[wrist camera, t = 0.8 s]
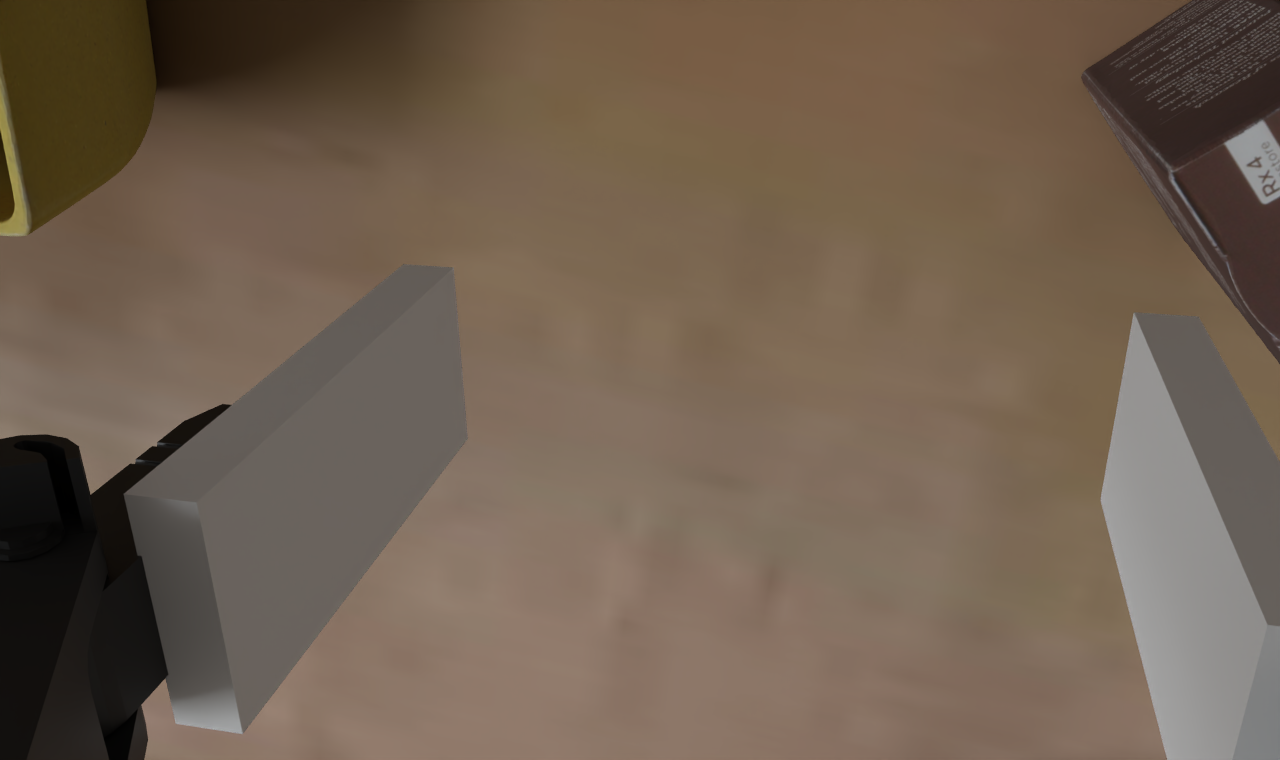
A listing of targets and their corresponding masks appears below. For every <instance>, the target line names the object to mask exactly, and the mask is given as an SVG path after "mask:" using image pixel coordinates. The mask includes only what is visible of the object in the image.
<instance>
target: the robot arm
mask: <svg viewBox="0 0 1280 760" xmlns="http://www.w3.org/2000/svg"><path fill="white" fill-rule="evenodd" d="M467 439H468V435H467V423H466V411H465V399H464V387H463V375H462V363H461V351H460V339H459V327H458V315H457V303H456V291H455V279H454V268H452V267H437V266H421V265H406V264H403V265H402V266H401V267H400V268H398V269H397V270H396V271H395V272H394V273H392V274H391V275H390V276H389V277H387V278H386V279H385V280H384V281H383V282H381V283H380V284H379V285H378V286H376V287H375V288H374V289H373V290H372V291H370V292H369V293H368V294H367V295H366V296H364V297H363V298H362V299H361V300H359V301H358V302H357V303H356V304H355V305H353V306H352V307H351V308H350V309H348V310H347V311H346V312H345V313H344V314H342V315H341V316H340V317H339V318H337V319H336V320H335V321H334V322H333V323H331V324H330V325H329V326H328V327H327V328H325V329H324V330H323V331H322V332H320V333H319V334H318V335H317V336H316V337H314V338H313V339H312V340H311V341H309V342H308V343H307V344H306V345H305V346H303V347H302V348H301V349H300V350H298V351H297V352H296V353H295V354H294V355H292V356H291V357H290V358H289V359H288V360H286V361H285V362H284V363H283V364H281V365H280V366H279V367H278V368H277V369H275V370H274V371H273V372H272V373H270V374H269V375H268V376H267V377H266V378H264V379H263V380H262V381H261V382H259V383H258V384H257V385H256V386H255V387H253V388H252V389H251V390H250V391H249V392H247V393H246V394H245V395H244V396H242V397H241V398H240V399H239V400H238V401H236V402H235V403H234V404H233V405H226V404H222V405H219V406H217V407H215V408H213V409H210V410H208V411H206V412H204V413H201V414H199V415H197V416H195V417H192V418H190V419H188V420H186V421H184V422H182V423H181V424H180V425H179V426H177V427H176V428H175V429H174V430H172V431H171V432H170V433H168V434H167V435H166V436H165V437H163V438H162V439H161V440H160V441H158V442H157V447H154V446H152V447H151V448H149V449H148V450H147V451H146V452H144V453H143V454H142V455H141V456H139V457H138V458H137V459H136V463H135V464H129V465H128V466H127V467H125V468H124V469H123V470H122V471H120V472H119V473H118V474H117V475H115V476H114V477H113V478H111V479H110V480H109V481H108V482H106V483H105V484H104V485H103V486H101V487H100V488H99V489H98V490H96V491H95V492H94V493H92V494H91V495H90V491H89V487H88V483H87V479H86V475H85V470H84V466H83V462H82V458H81V454H80V450H79V446H77V445H76V444H75V443H73V442H72V441H70V440H69V439H67V438H62V437H57V436H52V435H20V436H14V437H9V438H4V439H0V760H144V758H145V753H146V747H147V742H148V736H147V729H146V723H145V719H144V715H143V710H142V706H141V704H142V703H143V702H144V701H145V700H146V699H147V698H148V697H149V696H150V694H151V693H152V692H153V691H154V690H155V689H156V688H157V687H158V686H159V684H160V683H161V682H162V681H163V680H164V679H165V678H166V683H167V687H168V691H169V696H170V700H171V704H172V709H173V713H174V718H175V722H176V724H182V725H188V726H195V727H201V728H207V729H214V730H220V731H226V732H233V733H239V734H243V733H244V732H245V730H246V729H247V728H248V726H249V725H250V724H251V722H252V721H253V720H254V718H255V717H256V716H257V715H258V713H259V712H260V711H261V709H262V708H263V707H264V705H265V704H266V703H267V701H268V700H269V699H270V697H271V696H272V695H273V694H274V692H275V691H276V690H277V688H278V687H279V686H280V684H281V683H282V682H283V680H284V679H285V678H286V676H287V675H288V674H289V673H290V671H291V670H292V669H293V667H294V666H295V665H296V663H297V662H298V661H299V659H300V658H301V657H302V655H303V654H304V653H305V652H306V650H307V649H308V648H309V646H310V645H311V644H312V642H313V641H314V640H315V638H316V637H317V636H318V634H319V633H320V632H321V631H322V629H323V628H324V627H325V625H326V624H327V623H328V621H329V620H330V619H331V617H332V616H333V615H334V613H335V612H336V611H337V610H338V608H339V607H340V606H341V604H342V603H343V602H344V600H345V599H346V598H347V596H348V595H349V594H350V592H351V591H352V590H353V589H354V587H355V586H356V585H357V583H358V582H359V581H360V579H361V578H362V577H363V575H364V574H365V573H366V571H367V570H368V569H369V568H370V566H371V565H372V564H373V562H374V561H375V560H376V558H377V557H378V556H379V554H380V553H381V552H382V550H383V549H384V548H385V547H386V545H387V544H388V543H389V541H390V540H391V539H392V537H393V536H394V535H395V533H396V532H397V531H398V529H399V528H400V527H401V526H402V524H403V523H404V522H405V520H406V519H407V518H408V516H409V515H410V514H411V512H412V511H413V510H414V508H415V507H416V506H417V505H418V503H419V502H420V501H421V499H422V498H423V497H424V495H425V494H426V493H427V491H428V490H429V489H430V487H431V486H432V485H433V484H434V482H435V481H436V480H437V478H438V477H439V476H440V474H441V473H442V472H443V470H444V469H445V468H446V466H447V465H448V464H449V462H450V461H451V460H452V459H453V457H454V456H455V455H456V453H457V452H458V451H459V449H460V448H461V447H462V445H463V444H464V443H465V441H466V440H467ZM1101 504H1102V508H1103V512H1104V515H1105V519H1106V523H1107V527H1108V531H1109V535H1110V539H1111V543H1112V546H1113V550H1114V554H1115V558H1116V562H1117V566H1118V570H1119V574H1120V578H1121V581H1122V585H1123V589H1124V593H1125V597H1126V601H1127V605H1128V609H1129V613H1130V616H1131V620H1132V624H1133V628H1134V632H1135V636H1136V640H1137V644H1138V648H1139V651H1140V655H1141V659H1142V663H1143V667H1144V671H1145V675H1146V679H1147V683H1148V686H1149V690H1150V694H1151V698H1152V702H1153V706H1154V710H1155V714H1156V718H1157V721H1158V725H1159V729H1160V733H1161V737H1162V741H1163V745H1164V749H1165V752H1166V756H1167V760H1280V462H1279V460H1278V458H1277V456H1276V455H1275V453H1274V451H1273V449H1272V447H1271V446H1270V444H1269V442H1268V440H1267V439H1266V437H1265V435H1264V433H1263V431H1262V430H1261V428H1260V426H1259V424H1258V422H1257V421H1256V419H1255V417H1254V415H1253V413H1252V412H1251V410H1250V408H1249V406H1248V404H1247V403H1246V401H1245V399H1244V397H1243V395H1242V394H1241V392H1240V390H1239V388H1238V387H1237V385H1236V383H1235V381H1234V379H1233V378H1232V376H1231V374H1230V372H1229V370H1228V369H1227V367H1226V365H1225V363H1224V361H1223V360H1222V358H1221V356H1220V354H1219V352H1218V351H1217V349H1216V347H1215V345H1214V343H1213V342H1212V340H1211V338H1210V336H1209V334H1208V333H1207V331H1206V329H1205V327H1204V326H1203V324H1202V322H1201V320H1200V318H1199V317H1195V316H1180V315H1165V314H1149V313H1134V315H1133V321H1132V326H1131V332H1130V337H1129V343H1128V349H1127V354H1126V360H1125V365H1124V371H1123V377H1122V382H1121V388H1120V394H1119V399H1118V405H1117V410H1116V416H1115V422H1114V427H1113V433H1112V438H1111V444H1110V450H1109V455H1108V461H1107V466H1106V472H1105V478H1104V483H1103V489H1102V494H1101Z"/></svg>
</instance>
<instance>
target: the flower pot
mask: <svg viewBox="0 0 1280 760" xmlns="http://www.w3.org/2000/svg"><path fill="white" fill-rule="evenodd" d="M156 85H157V81H156V73H155V66H154V59H153V51H152V43H151V35H150V29H149V21H148V13H147V5H146V0H0V235H2V236H26V235H28V234H30V233H32V232H33V231H35V230H36V229H38V228H39V227H41V226H42V225H44V224H45V223H47V222H48V221H50V220H51V219H53V218H54V217H56V216H57V215H59V214H60V213H62V212H63V211H65V210H66V209H68V208H69V207H71V206H72V205H74V204H75V203H77V202H78V201H80V200H81V199H82V198H84V197H85V196H87V195H88V194H90V193H91V192H93V191H94V190H96V189H97V188H99V187H100V186H101V185H103V184H104V183H106V182H107V181H108V180H110V179H111V178H112V177H114V176H115V175H116V174H117V173H119V172H120V171H121V170H122V169H123V168H124V167H125V166H126V165H127V163H128V162H129V161H130V160H131V159H132V157H133V156H134V155H135V153H136V151H137V150H138V148H139V147H140V145H141V143H142V141H143V138H144V136H145V134H146V132H147V129H148V126H149V123H150V120H151V116H152V112H153V106H154V100H155V93H156Z"/></svg>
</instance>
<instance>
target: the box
mask: <svg viewBox="0 0 1280 760" xmlns="http://www.w3.org/2000/svg"><path fill="white" fill-rule="evenodd" d="M1081 78H1082V81H1083V83H1084V85H1085V87H1086V88H1087V90H1088V92H1089V93H1090V95H1091V97H1092V98H1093V100H1094V102H1095V103H1096V105H1097V107H1098V108H1099V110H1100V112H1101V113H1102V115H1103V116H1104V118H1105V120H1106V121H1107V123H1108V124H1109V126H1110V128H1111V129H1112V131H1113V132H1114V134H1115V136H1116V137H1117V139H1118V140H1119V142H1120V143H1121V145H1122V147H1123V148H1124V150H1125V151H1126V153H1127V154H1128V156H1129V157H1130V159H1131V161H1132V162H1133V164H1134V165H1135V167H1136V168H1137V170H1138V171H1139V173H1140V174H1141V176H1142V177H1143V179H1144V181H1145V182H1146V184H1147V185H1148V187H1149V188H1150V190H1151V191H1152V193H1153V194H1154V196H1155V197H1156V199H1157V200H1158V202H1159V204H1160V205H1161V207H1162V208H1163V210H1164V211H1165V213H1166V214H1167V216H1168V217H1169V219H1170V220H1171V222H1172V223H1173V225H1174V226H1175V228H1176V229H1177V230H1178V232H1179V233H1180V235H1181V236H1182V238H1183V239H1184V241H1185V242H1186V243H1187V244H1188V245H1189V247H1190V248H1191V249H1192V251H1193V252H1194V253H1195V254H1196V256H1197V257H1198V259H1199V260H1200V261H1201V262H1202V263H1203V265H1204V266H1205V267H1206V269H1207V270H1208V271H1209V272H1210V273H1211V275H1212V276H1213V278H1214V279H1215V280H1216V281H1217V283H1218V284H1219V285H1220V286H1221V288H1222V289H1223V290H1224V292H1225V293H1226V294H1227V296H1228V297H1229V298H1230V300H1231V301H1232V303H1233V304H1234V306H1235V307H1236V308H1237V309H1238V310H1239V311H1240V312H1241V314H1242V315H1243V316H1244V318H1245V319H1246V320H1247V322H1248V323H1249V324H1250V326H1251V327H1252V328H1253V329H1254V331H1255V332H1256V334H1257V335H1258V336H1259V337H1260V338H1261V340H1262V341H1263V343H1264V344H1265V345H1266V347H1267V348H1268V350H1269V351H1270V352H1271V353H1272V354H1273V356H1274V357H1275V358H1276V359H1277V361H1278V362H1279V364H1280V1H1279V0H1192V1H1191V2H1189V3H1188V4H1186V5H1184V6H1183V7H1181V8H1180V9H1178V10H1177V11H1175V12H1174V13H1172V14H1171V15H1169V16H1168V17H1166V18H1165V19H1163V20H1161V21H1160V22H1158V23H1157V24H1156V25H1154V26H1153V27H1151V28H1150V29H1148V30H1147V31H1145V32H1143V33H1142V34H1140V35H1139V36H1137V37H1136V38H1134V39H1133V40H1131V41H1129V42H1128V43H1126V44H1125V45H1123V46H1122V47H1120V48H1119V49H1117V50H1116V51H1114V52H1113V53H1111V54H1110V55H1108V56H1107V57H1105V58H1104V59H1102V60H1101V61H1099V62H1097V63H1096V64H1094V65H1092V66H1091V67H1089V68H1088V69H1086V70H1085V71H1084V72H1083V74H1082V77H1081Z"/></svg>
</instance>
